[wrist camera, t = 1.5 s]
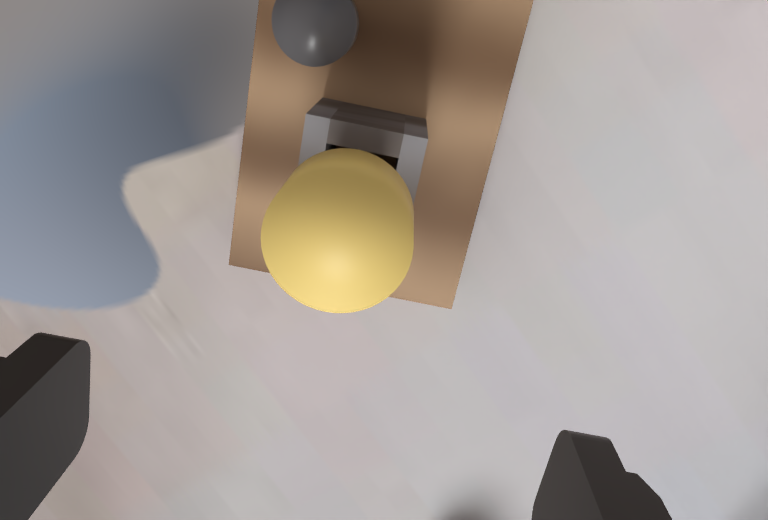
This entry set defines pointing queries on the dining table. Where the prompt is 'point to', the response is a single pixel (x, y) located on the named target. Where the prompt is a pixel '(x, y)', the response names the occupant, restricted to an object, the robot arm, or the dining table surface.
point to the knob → (340, 231)
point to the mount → (388, 120)
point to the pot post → (315, 29)
